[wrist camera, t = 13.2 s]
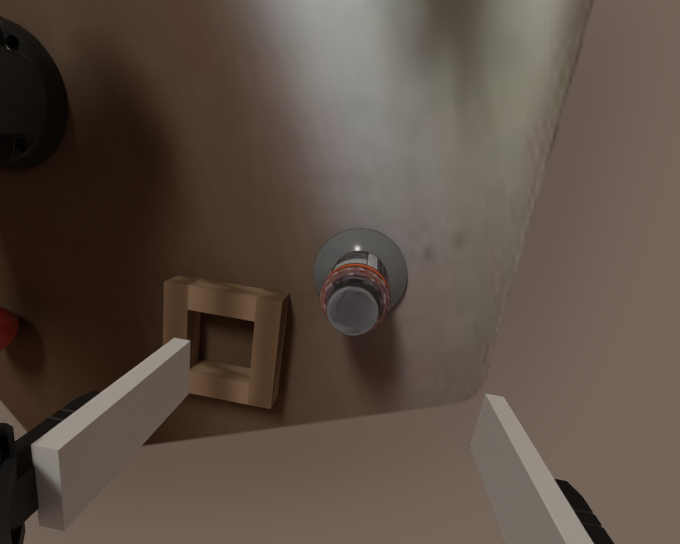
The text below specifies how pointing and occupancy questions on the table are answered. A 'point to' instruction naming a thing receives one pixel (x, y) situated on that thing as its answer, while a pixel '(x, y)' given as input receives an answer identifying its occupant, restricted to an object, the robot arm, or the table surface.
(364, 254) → the supplement bottle
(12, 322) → the onion
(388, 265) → the grey domed disc
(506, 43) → the table surface
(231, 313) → the pocket holder
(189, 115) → the table surface
